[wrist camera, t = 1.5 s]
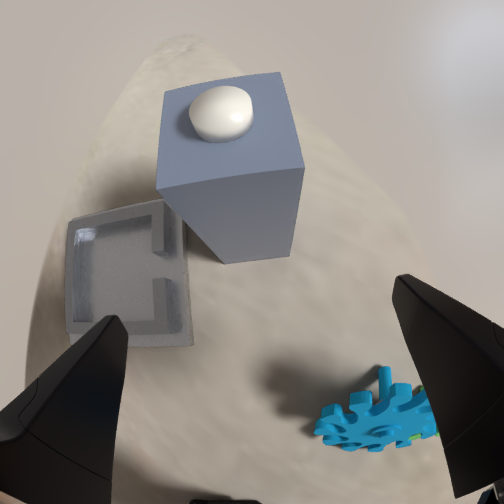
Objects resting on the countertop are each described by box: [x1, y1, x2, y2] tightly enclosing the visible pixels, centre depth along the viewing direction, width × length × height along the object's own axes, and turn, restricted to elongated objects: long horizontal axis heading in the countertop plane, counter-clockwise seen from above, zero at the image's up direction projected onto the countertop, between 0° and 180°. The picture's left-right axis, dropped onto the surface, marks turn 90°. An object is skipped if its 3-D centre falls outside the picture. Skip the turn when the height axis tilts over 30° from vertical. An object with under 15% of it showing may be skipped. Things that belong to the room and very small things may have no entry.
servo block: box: [156, 72, 305, 264], centre depth 15 cm, size 5×5×14 cm
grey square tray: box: [65, 198, 194, 347], centre depth 21 cm, size 12×12×2 cm
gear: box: [314, 366, 440, 452], centre depth 16 cm, size 11×6×10 cm
